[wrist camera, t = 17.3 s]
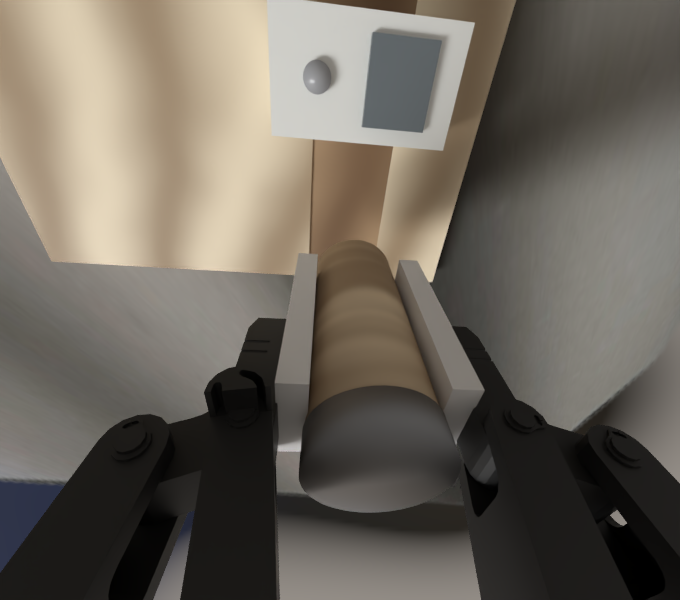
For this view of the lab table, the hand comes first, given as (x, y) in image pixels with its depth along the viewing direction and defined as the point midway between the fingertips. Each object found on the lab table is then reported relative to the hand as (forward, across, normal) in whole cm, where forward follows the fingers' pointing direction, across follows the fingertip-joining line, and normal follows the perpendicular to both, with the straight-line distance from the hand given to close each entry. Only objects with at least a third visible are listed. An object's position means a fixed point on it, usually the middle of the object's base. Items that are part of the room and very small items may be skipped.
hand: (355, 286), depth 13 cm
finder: (+6, 0, +7) cm, 9 cm away
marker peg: (+1, 0, 0) cm, 1 cm away
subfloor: (+7, -6, +4) cm, 10 cm away
